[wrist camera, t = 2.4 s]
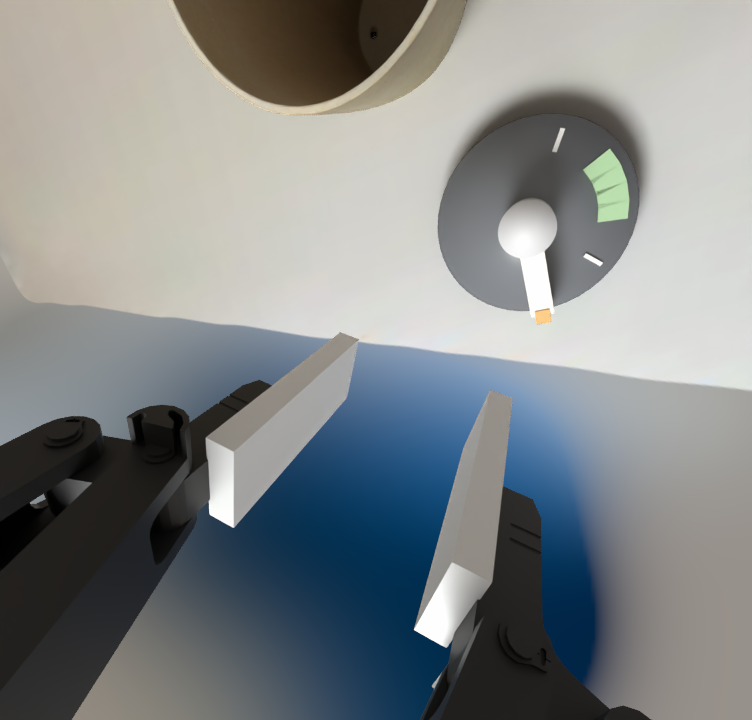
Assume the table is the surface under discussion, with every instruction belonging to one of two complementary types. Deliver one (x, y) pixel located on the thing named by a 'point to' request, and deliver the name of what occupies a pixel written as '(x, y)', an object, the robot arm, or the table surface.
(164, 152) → the table surface
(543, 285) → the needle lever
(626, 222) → the dial base
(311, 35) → the plant pot
